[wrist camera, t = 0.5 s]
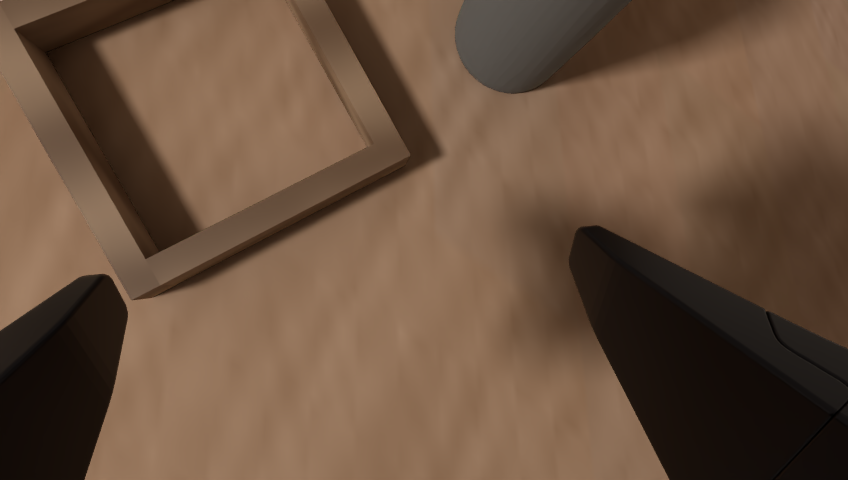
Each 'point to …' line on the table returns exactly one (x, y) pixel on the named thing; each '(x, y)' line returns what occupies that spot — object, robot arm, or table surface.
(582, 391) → the table surface
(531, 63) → the bottle
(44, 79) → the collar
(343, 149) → the table surface
